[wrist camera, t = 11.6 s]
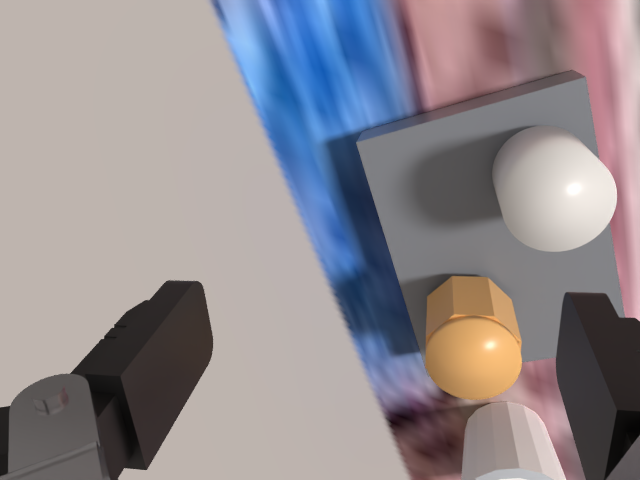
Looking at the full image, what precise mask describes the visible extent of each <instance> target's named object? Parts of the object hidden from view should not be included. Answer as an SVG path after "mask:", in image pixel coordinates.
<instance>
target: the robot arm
mask: <svg viewBox="0 0 640 480" xmlns="http://www.w3.org/2000/svg"><path fill="white" fill-rule="evenodd" d="M212 351H213V336H212V330H211V325H210V320H209V314H208V309H207V304H206V298H205V294H204V289H203V286H202V284H201V283H200V282H198V281H170V280H169V281H166V282H165V283H164V284H163V285H162V286H161V288H160V289H159V290H158V291H157V292H156V293H155V294H154V296H153V297H152V298H151V299H150V300H145V301H143V302H142V303H140V304H138V305H137V306H135V307H134V308H132V309H130V310H129V311H127V312H126V313H125V314H124V315H123V316H122V317H121V319H120V320H119V321H118V322H117V323H116V324H115V325H114V328H111V329H110V331H109V332H108V333H107V334H106V335H105V336H104V339H101V340H100V341H99V343H98V344H97V345H96V346H95V347H94V348H93V349H92V351H90V353H89V354H88V355H87V356H86V357H85V358H84V359H83V360H82V361H81V362H80V364H79V365H78V366H77V367H76V368H75V369H74V370H73V371H72V372H71V373H70V374H59V375H54V376H51V377H47V378H44V379H42V380H40V381H38V382H35V383H33V384H32V385H30V386H28V387H27V388H25V389H24V390H23V391H22V392H20V393H19V394H18V395H17V397H15V399H14V400H13V402H12V403H11V406H8V407H1V408H0V480H118V477H119V475H120V474H121V472H122V471H123V469H124V468H130V469H140V470H147V469H148V467H149V465H150V464H151V462H152V460H153V458H154V456H155V455H156V453H157V451H158V450H159V448H160V446H161V445H162V443H163V441H164V440H165V438H166V436H167V434H168V433H169V431H170V429H171V427H172V426H173V424H174V422H175V421H176V419H177V417H178V415H179V414H180V412H181V410H182V409H183V407H184V405H185V403H186V402H187V400H188V398H189V397H190V395H191V393H192V391H193V390H194V388H195V386H196V385H197V383H198V381H199V379H200V377H201V376H202V374H203V373H204V371H205V369H206V367H207V366H208V364H209V362H210V359H211V356H212ZM556 373H557V381H558V385H559V389H560V392H561V396H562V399H563V402H564V406H565V409H566V413H567V416H568V420H569V423H570V426H571V430H572V433H573V437H574V440H575V444H576V447H577V450H578V454H579V457H580V461H581V464H582V468H583V471H584V474H585V478H586V480H640V321H638V320H637V319H636V318H621V317H619V316H618V314H617V312H616V310H615V309H614V307H613V305H612V303H611V301H610V299H609V297H608V295H607V294H606V293H593V292H566V293H565V295H564V298H563V303H562V311H561V319H560V328H559V336H558V344H557V353H556Z"/></svg>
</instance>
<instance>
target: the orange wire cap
mask: <svg viewBox="0 0 640 480" xmlns="http://www.w3.org/2000/svg"><path fill="white" fill-rule="evenodd" d="M521 343H522V340H521V336H520V332H519V328H518V324H517V320H516V316H515V312H514V307H513V303H512V299H510V298H509V297H508V296H507V295H506V294H505V293H504V292H503V291H502V290H501V289H500V288H499V287H498V286H497V285H496V284H494V283H493V282H492V281H491V280H490V279H489V278H488V277H468V276H452V277H450V278H449V279H448V280H447V281H446V282H444V283H443V284H442V285H441V286H439V287H438V288H437V289H436V290H435V291H433V292H432V293H431V294H430V295H428V296H427V317H426V356H425V360H426V362H425V368H426V369H427V371H428V373H429V375H430V377H431V378H432V380H433V381H434V382H435V383H436V384H437V385H438V386H439V387H440V388H441V389H442V390H444V391H446V392H447V393H449V394H451V395H453V396H456V397H459V398H464V399H471V400H478V399H486V398H491V397H494V396H496V395H499V394H501V393H502V392H504V391H506V390H507V389H508V388H510V387H511V386H512V385H513V383H514V382H515V381H516V379H517V378H518V376H519V373H520V371H521V366H522V358H521Z"/></svg>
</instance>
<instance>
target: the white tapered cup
mask: <svg viewBox="0 0 640 480" xmlns="http://www.w3.org/2000/svg"><path fill="white" fill-rule="evenodd" d="M461 480H566V478H565V475H564V473H563V470H562V468H561V465H560V463H559V460H558V458H557V455H556V452H555V450H554V447H553V445H552V442H551V440H550V437H549V435H548V432H547V429H546V427H545V424H544V423H543V421H542V420H541V419H540V417H539V416H538V415H537V413H536V412H534V411H532V410H531V409H529V408H527V407H526V406H524V405H521V404H516V403H512V402H507V401H506V402H496V403H490V404H487V405H485V406H483V407H481V408H479V409H477V410H476V411H475V412H474V413H473V414H472V415H471V416H470V417H469V418H468V421H467V425H466V428H465V437H464V450H463V463H462V477H461Z"/></svg>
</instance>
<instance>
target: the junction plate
mask: <svg viewBox="0 0 640 480" xmlns="http://www.w3.org/2000/svg"><path fill="white" fill-rule="evenodd" d="M356 144H357V147H358V151H359V154H360V157H361V160H362V164H363V167H364V170H365V173H366V177H367V180H368V183H369V186H370V190H371V193H372V196H373V199H374V203H375V206H376V209H377V212H378V216H379V219H380V222H381V226H382V229H383V232H384V235H385V239H386V242H387V245H388V248H389V252H390V255H391V258H392V261H393V265H394V268H395V271H396V274H397V278H398V281H399V284H400V287H401V291H402V294H403V297H404V300H405V304H406V307H407V310H408V313H409V317H410V320H411V323H412V326H413V330H414V333H415V336H416V339H417V343H418V346H419V349H420V352H421V356H422V359H423V362H424V366H425V362H426V360H425V356H426V317H427V296H428V295H430V294H431V293H432V292H433V291H435V290H436V289H437V288H438V287H439V286H441V285H442V284H443V283H444V282H446V281H447V280H448V279H449V278H450V277H452V276H468V277H488V278H489V279H490V280H491V281H492V282H493V283H494V284H496V285H497V286H498V287H499V288H500V289H501V290H502V291H503V292H504V293H505V294H506V295H507V296H508V297H509V298H510V299H512V303H513V307H514V312H515V316H516V320H517V324H518V328H519V332H520V336H521V340H522V343H521V358H522V362H528V361H535V360H541V359H548V358H555V357H556V353H557V344H558V336H559V328H560V319H561V311H562V303H563V298H564V295H565V293H566V292H593V293H606V294H607V295H608V297H609V299H610V301H611V303H612V305H613V307H614V309H615V310H616V312H617V314H618V316H619V317H621V318H625V314H624V308H623V302H622V296H621V290H620V284H619V277H618V271H617V265H616V259H615V253H614V247H613V241H612V234H611V228H610V220H611V218H612V216H613V214H614V211H615V207H616V203H617V189H616V185H615V182H614V179H613V177H612V175H611V173H610V172H609V170H608V169H607V168H606V167H605V165H604V164H603V163H602V162H601V161H600V160H599V155H598V148H597V142H596V136H595V130H594V124H593V118H592V112H591V105H590V99H589V93H588V87H587V81H586V77H585V76H583V75H581V74H579V73H578V72H576V71H574V70H571V71H568V72H564V73H561V74H557V75H554V76H550V77H547V78H543V79H540V80H537V81H533V82H530V83H526V84H523V85H519V86H516V87H513V88H509V89H506V90H502V91H499V92H495V93H492V94H488V95H485V96H482V97H478V98H475V99H471V100H468V101H464V102H461V103H457V104H454V105H451V106H447V107H444V108H440V109H437V110H433V111H430V112H427V113H423V114H420V115H416V116H413V117H409V118H406V119H402V120H399V121H396V122H392V123H389V124H385V125H382V126H378V127H375V128H372V129H368V130H365V131H362V133H361V135H360V137H359V138H358V140H357V142H356ZM425 369H426V368H425ZM426 372H427V375H428V377H429V376H430V375H429V373H428V371H427V369H426Z"/></svg>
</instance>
